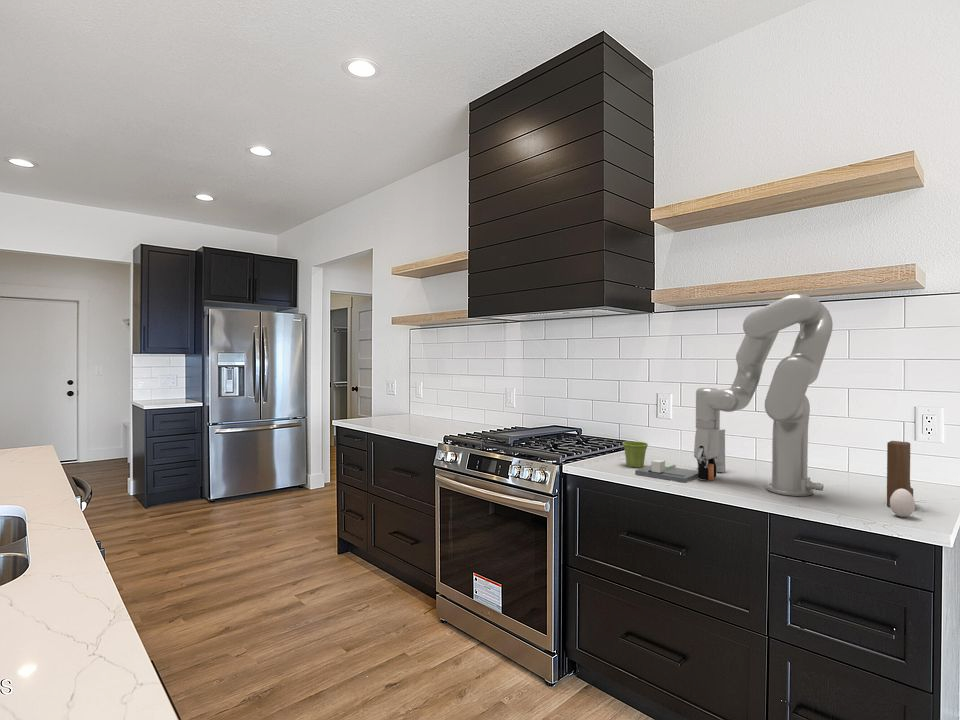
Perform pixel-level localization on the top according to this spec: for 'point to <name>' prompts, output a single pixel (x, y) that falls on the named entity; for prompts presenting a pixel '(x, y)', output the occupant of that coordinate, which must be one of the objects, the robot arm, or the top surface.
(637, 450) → the plant pot
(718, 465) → the skincare box
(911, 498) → the egg
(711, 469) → the cap
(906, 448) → the wooden block
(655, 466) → the block
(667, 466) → the pad
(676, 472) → the breaker board
